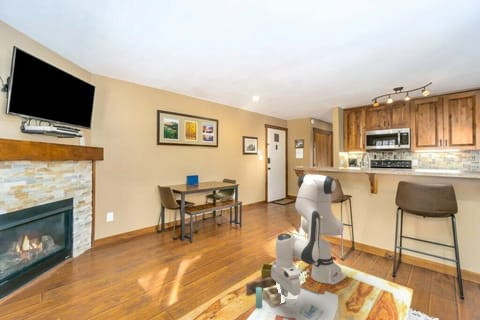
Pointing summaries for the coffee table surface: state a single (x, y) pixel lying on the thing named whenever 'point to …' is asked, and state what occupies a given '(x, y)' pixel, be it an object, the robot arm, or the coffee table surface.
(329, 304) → the coffee table surface
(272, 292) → the block
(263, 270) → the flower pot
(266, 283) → the wall
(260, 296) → the dowel
